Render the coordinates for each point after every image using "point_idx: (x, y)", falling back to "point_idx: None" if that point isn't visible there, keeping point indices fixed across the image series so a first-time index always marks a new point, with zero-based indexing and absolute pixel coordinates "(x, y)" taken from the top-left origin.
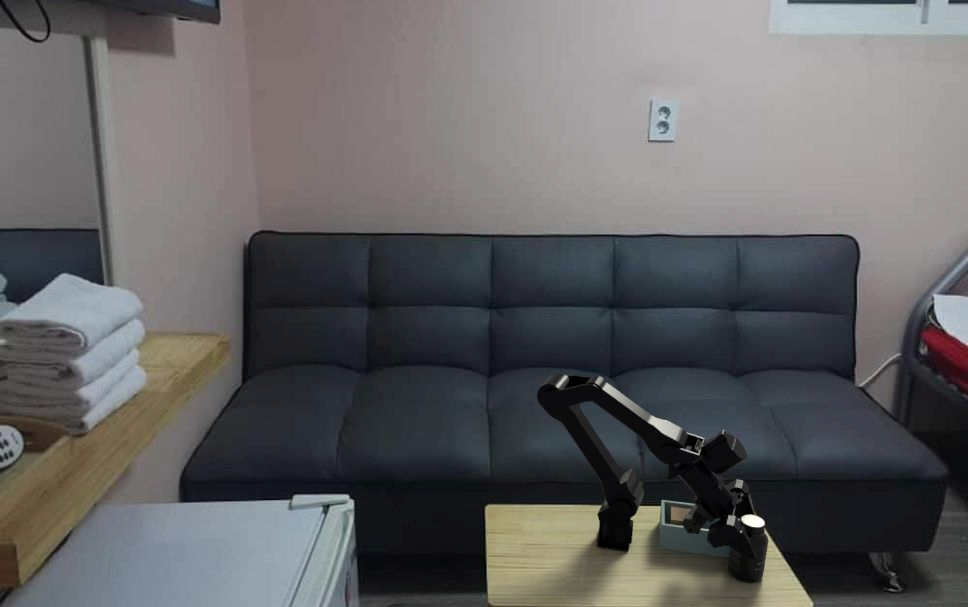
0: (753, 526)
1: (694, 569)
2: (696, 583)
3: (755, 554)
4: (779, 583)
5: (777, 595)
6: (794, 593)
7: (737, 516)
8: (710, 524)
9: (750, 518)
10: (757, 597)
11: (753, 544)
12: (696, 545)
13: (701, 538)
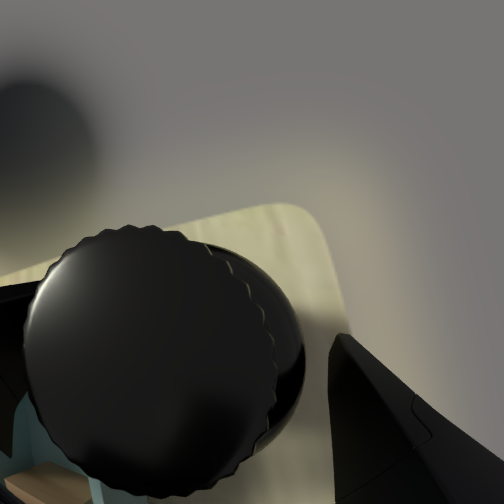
0: (259, 385)
1: (234, 501)
2: (308, 496)
3: (351, 341)
4: (251, 243)
5: (316, 258)
6: (292, 206)
7: (18, 398)
8: (18, 409)
9: (85, 383)
10: (343, 322)
11: (302, 356)
12: (135, 497)
13: (122, 499)
